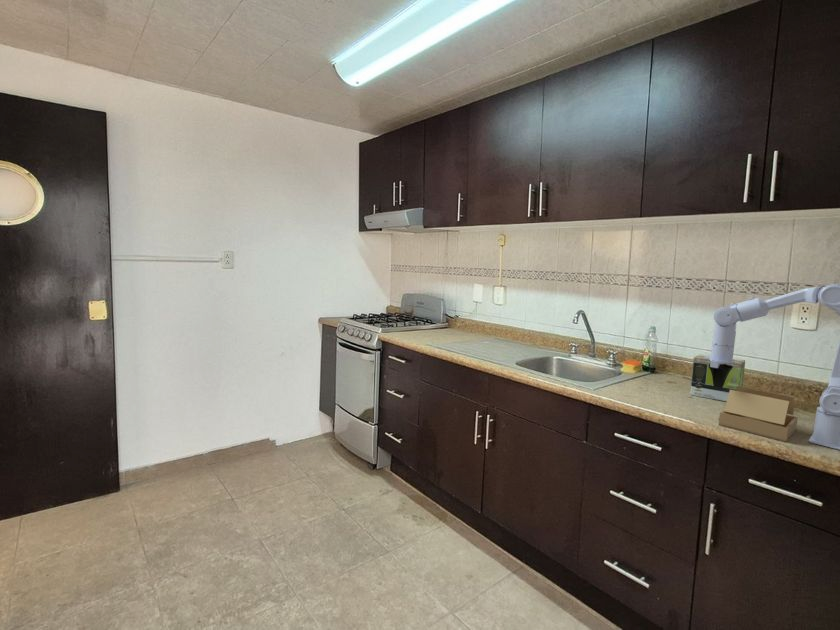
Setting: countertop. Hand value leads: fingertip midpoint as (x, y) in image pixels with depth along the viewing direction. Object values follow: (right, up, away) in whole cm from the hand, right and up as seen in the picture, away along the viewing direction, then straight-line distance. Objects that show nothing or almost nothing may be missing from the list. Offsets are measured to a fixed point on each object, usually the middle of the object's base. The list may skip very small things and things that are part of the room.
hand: (718, 387), depth 139 cm
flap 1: (+3, -4, -11) cm, 12 cm away
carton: (+7, -11, -7) cm, 15 cm away
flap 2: (+11, -3, -4) cm, 12 cm away
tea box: (+16, -8, +25) cm, 30 cm away
